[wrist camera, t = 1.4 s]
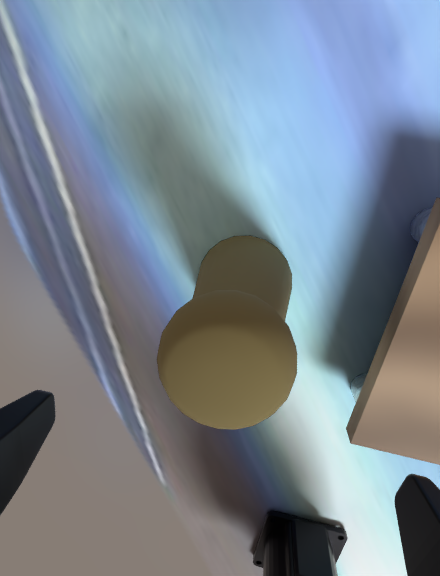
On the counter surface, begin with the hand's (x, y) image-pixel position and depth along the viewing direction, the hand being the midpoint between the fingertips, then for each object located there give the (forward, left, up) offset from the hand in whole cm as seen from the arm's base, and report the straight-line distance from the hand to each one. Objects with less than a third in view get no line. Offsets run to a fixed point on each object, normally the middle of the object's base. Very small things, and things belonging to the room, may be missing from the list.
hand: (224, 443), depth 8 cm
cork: (0, 0, -14) cm, 14 cm away
